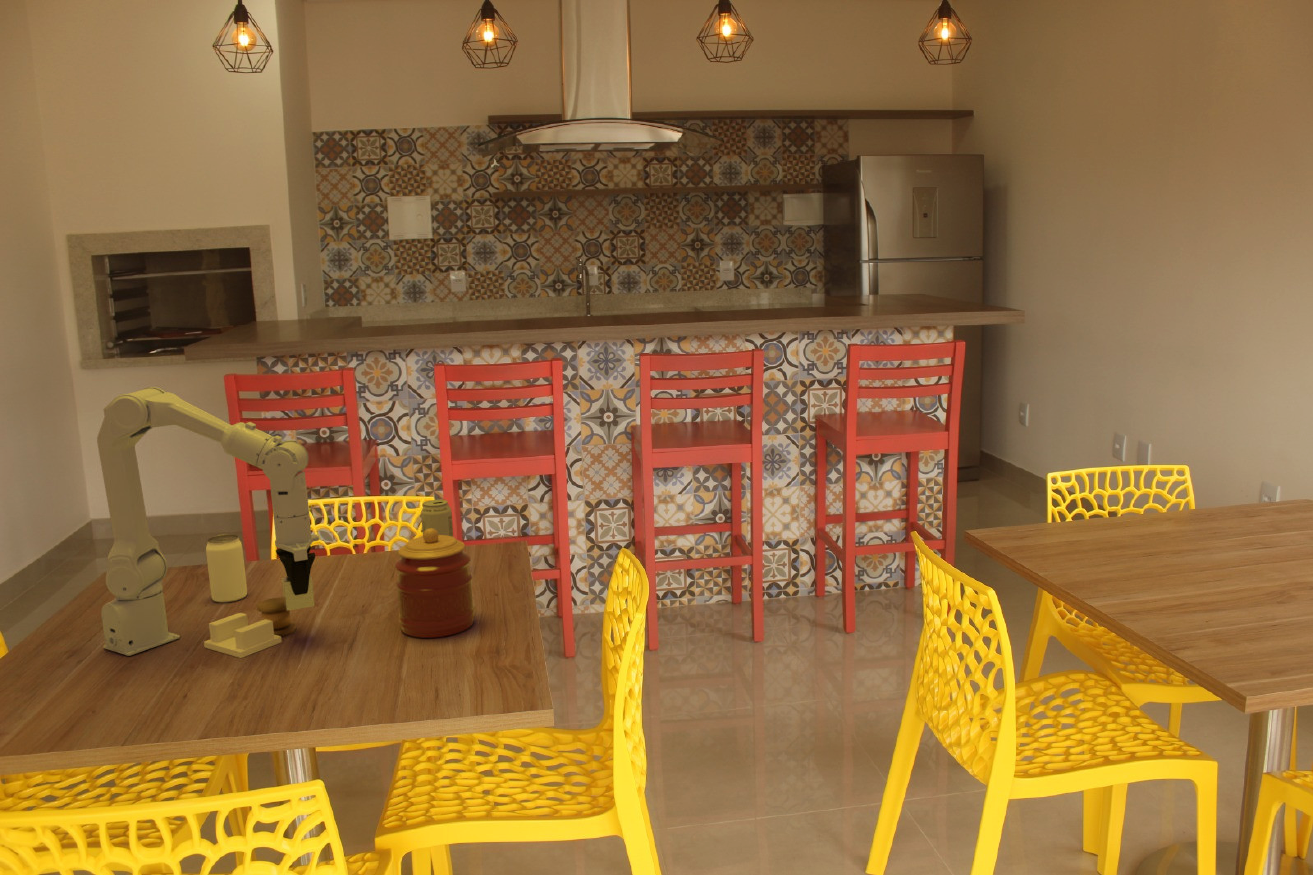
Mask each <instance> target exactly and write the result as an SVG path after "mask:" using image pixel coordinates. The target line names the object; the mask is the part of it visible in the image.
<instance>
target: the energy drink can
mask: <svg viewBox="0 0 1313 875" xmlns="http://www.w3.org/2000/svg"><path fill="white" fill-rule="evenodd" d="M448 502H449V501H448V500H445V499H433V500H427V501H425V502H423V503H422V504H423V507H422V509H421V511H420V514H421V515H420V517H421V529H422V535H423V534H424V531H425V530H426V529H429V528H433V529H435V530H436V531H437V532H438V535H447V536H452V537H454V530H453V529H454V528H453V526H454V525H453V512H452V508H451V506H450V505H449V503H448Z"/></svg>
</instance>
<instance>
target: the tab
mask: <svg viewBox="0 0 1313 875" xmlns="http://www.w3.org/2000/svg"><path fill="white" fill-rule="evenodd" d="M281 580H282V590H283V591H282V593H283V594H282V595H283V598H284V605H285V608H286V610H287V611H288V610H290V611H294V610H300V609H306V608H312V607H315V595H314V585H313V584H314V583H313V577H312V576H311V574H310V577H309V587H308V592H307V594H301V595H295V594H294V592H293V590H292V587H291V583H290V579H289V577H287V576H284V577H281Z"/></svg>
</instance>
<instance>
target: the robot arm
mask: <svg viewBox="0 0 1313 875" xmlns="http://www.w3.org/2000/svg"><path fill="white" fill-rule="evenodd" d="M103 415H104V417H103V421H102V423H101V425H100V429H99V430H98V434H97V436H96V437H97V438H96V441H97V442H96V444H97V449H98V455H99V460H100V466H101V471H102V476H103V477H102V478H103V484H104V488H105V495H106V500H107V506H108V511H109V512H108V513H109V518H110V524H111V529H112V530H111V531H112V536H113V544H112V547H111V549H110V551H109V553H108V556H107V565H108V568H107V571H106V574H105V584H106V587H107V589H108V590H109V592H110V593H111V594H112V595H113V596H115V598H114V599H112V600H111V601H109V602H106V603H104V605H103V606H102V607H101V613H100V614H101V616H100V617H101V622H102V628H103V636H104V645H102V646H103V649H105V650H109V651H112V652H115V653H118V654H120V655H121V654H122V655H123V656H124V655H125V656H127V657H129V656H134V655H135V654H139V653H141V652H144V651H146V650H147V651H148V650H150V649H153V648H155V647H159V646H161V645H165V644H166V643H170V642H172V641H175V640H178V639H180V638H181V637H180V635H179V634H176V633H172V632H170V631H169V629H168V628H169V626H168V620H167V619H168V618H167V613H166V612H167V610H166V604H165V596H164V590H163V588H164V587H163V579H164V578H165V576H166V575H167V572H168V568H169V567H168V562H167V558H166V557H165V555H164V554H163V553H162V551H161V548H160V545H159V541H158V540H157V539H156V538H155V537H153V536H152V535H151V534H150V529H149V524H148V518H147V512H146V507H145V505H146V504H145V499H144V494H143V493H144V492H143V488H142V482H141V481H142V480H141V475H140V471H139V470H140V469H139V463H138V459H137V453H136V452H137V451H136V444H137V443H138V442H139V441H141V439H142V438H143V437H144V436H145V435H146V434H147V433H148V431H150V430H151V429H153V428H159V427H168V426H177V427H181V428H183V429H185V430H188V431H190V432H193V433H196V434H198V435H201V436H203V437H204V438H209V439H211V440H213V441H215V442H218V443H220V444H221V445H222V449H223V451H224V452H225V453H226V454H227V455H230V456H232V457H234V458H236V459H239V460H240V461H243V462H245V463H247V464H250V465H252V466H253V467H257V468H258V469H262V472H263V473H264V475H265V476H266V478H268V480H269V484H270V485H269V486H270V496H271V505H272V513H273V516H272V517H273V523H274V533H275V541H274V543H275V544H274V545H275V547H276V550H275V552H276V555H277V556H278V558H279V561H281V563H282V565H283V568H284V571H285V575H286V577H289V579H290V583H291V587H292V590H293V592H294V594H295V595H301V594H307V592H308V587H309V577H310V575H311V570H312V567H313V563H314V562H315V560H316V559H315V558H316V556H317V555H316V553H315V552H311V549H312V544H313V543H314V542H318V541H320V537H319V534H312V528H311V518H310V506H309V498H308V496H309V495H308V488H307V479H306V472H305V469H306V468H307V467H308V464H309V460H310V459H309V452H308V451H307V449H306V448H305V446H303V445H302V444H301V443H300V442H298V441H297V440H295V439H288V440H284V441H283V437H281V436H280V435H275V436H274V435H271V434H269V433H267V432H264V431H263V430H260V429H258V428H257V425H256V423H254V422H251V421H249V422H246V423H245V422H242V421H241V422H236V423H235V424H230V423H227V422H226V421H224V420H223V419H220V418H219V417H216V416H214V415H212V413H211V414H210V413H209V412H206V411H205V410H202V409H201V408H199V407H197V406H195V405H193V404H191V403H189V402H187V401H185V400H184V399H182V398H180V397H179V396H178V395H176V393H172V392H169V391H168V392H166V391H165V390H163V389H161V388H160V387H156V386H148V387H144V388H142V389H141V390H136V391H134V392H130V393H123V394H120V395H118V396H116V397H114V398H113V399H112V400H111V401H110V402H109V403H108V404H107V405H106V406H105V407H104V408H103Z"/></svg>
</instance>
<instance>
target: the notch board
mask: <svg viewBox="0 0 1313 875" xmlns="http://www.w3.org/2000/svg"><path fill="white" fill-rule="evenodd" d="M208 626H209V637H210V639H208V640H205V641H203V645H204V648H205V649H209V650H212V651H216V652H219V653H222V654H225V655H228V656H229V655H230V656H232V657H236V658H239V659H242V658H245V657H247V656H250V655H252V654H255V653H258V652H260V651H262V650H265V649H268V648H270V647H272V646H275V645H278V644H281V643H282V637H281V636H277V635H274V630H273V621H270V620H266V619H264V620H262V619H261V620H259V621H256V622H254V623H252V624H249V622H248V614H246V613H242V612H238V613H235V614H232V615H230V616H229V615H228V616H226V617H224V618H220V619H217V620H216V621H213V622H209V623H208Z"/></svg>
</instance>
